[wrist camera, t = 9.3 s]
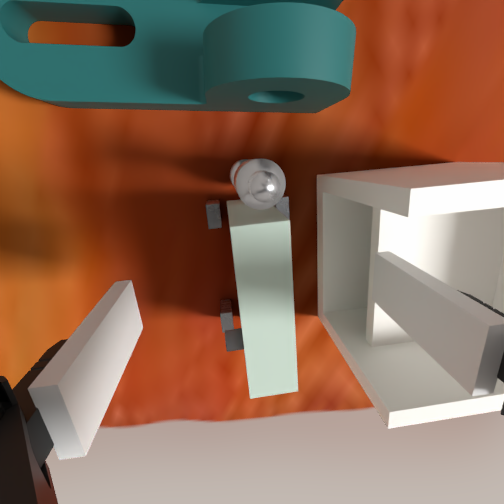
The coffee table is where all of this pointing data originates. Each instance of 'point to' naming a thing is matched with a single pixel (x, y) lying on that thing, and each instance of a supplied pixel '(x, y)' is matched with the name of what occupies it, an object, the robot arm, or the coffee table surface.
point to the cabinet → (418, 254)
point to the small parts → (251, 203)
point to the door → (264, 298)
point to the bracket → (185, 55)
